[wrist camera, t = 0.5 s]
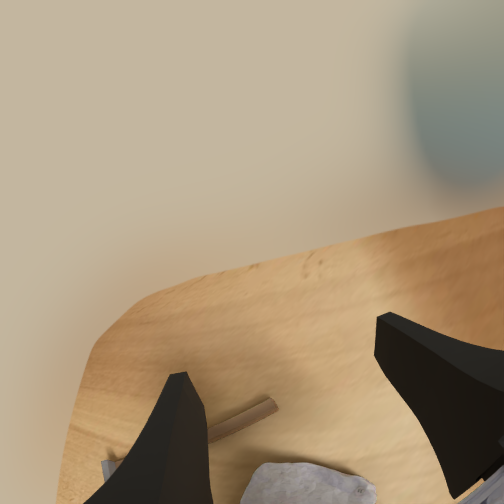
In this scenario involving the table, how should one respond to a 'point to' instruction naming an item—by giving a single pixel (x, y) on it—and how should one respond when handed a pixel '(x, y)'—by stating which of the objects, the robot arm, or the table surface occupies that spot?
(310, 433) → the table surface
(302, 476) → the stone block
